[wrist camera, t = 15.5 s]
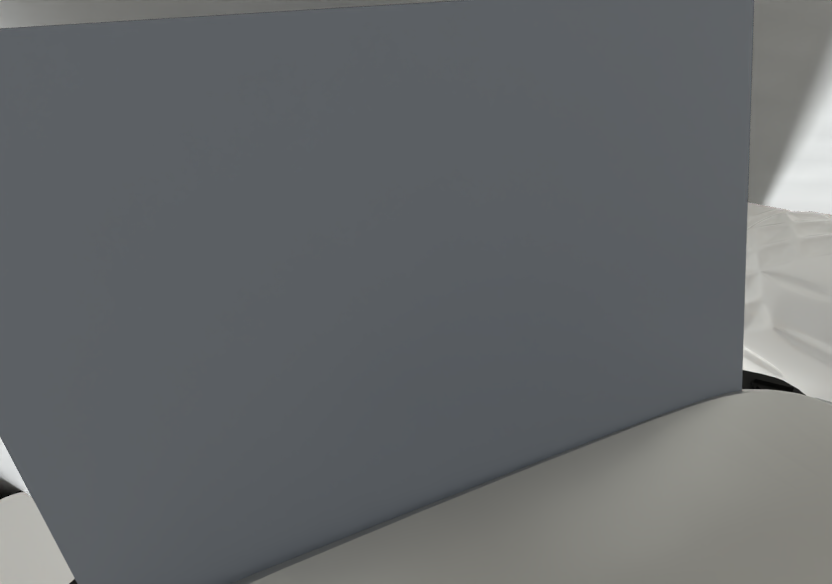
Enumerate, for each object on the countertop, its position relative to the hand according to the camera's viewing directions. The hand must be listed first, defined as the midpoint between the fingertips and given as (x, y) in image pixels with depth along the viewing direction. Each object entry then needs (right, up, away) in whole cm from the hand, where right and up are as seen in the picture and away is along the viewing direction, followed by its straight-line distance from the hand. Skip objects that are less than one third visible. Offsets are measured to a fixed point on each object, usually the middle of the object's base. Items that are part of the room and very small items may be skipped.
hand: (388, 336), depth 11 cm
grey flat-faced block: (0, -1, +2) cm, 2 cm away
